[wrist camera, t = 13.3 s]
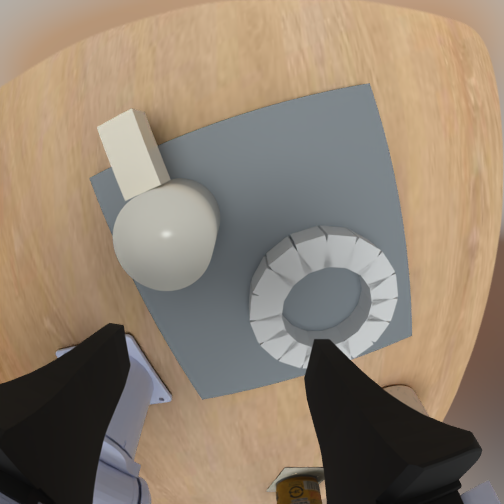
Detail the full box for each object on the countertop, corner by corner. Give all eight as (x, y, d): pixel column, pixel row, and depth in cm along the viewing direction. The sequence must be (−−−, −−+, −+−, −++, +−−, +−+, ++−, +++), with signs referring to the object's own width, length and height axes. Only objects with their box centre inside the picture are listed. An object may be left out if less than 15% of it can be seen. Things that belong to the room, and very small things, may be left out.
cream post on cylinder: (232, 240, 19) (229, 272, 14) (162, 265, 19) (140, 302, 15) (180, 105, 16) (157, 93, 11) (109, 140, 16) (68, 141, 12)
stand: (203, 391, 25) (200, 416, 22) (96, 176, 18) (74, 182, 15) (407, 329, 23) (422, 348, 21) (363, 85, 17) (382, 77, 14)
